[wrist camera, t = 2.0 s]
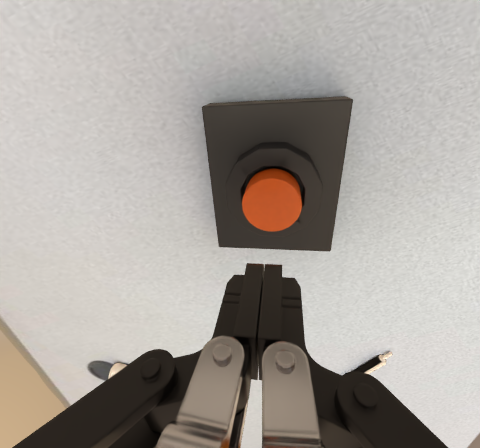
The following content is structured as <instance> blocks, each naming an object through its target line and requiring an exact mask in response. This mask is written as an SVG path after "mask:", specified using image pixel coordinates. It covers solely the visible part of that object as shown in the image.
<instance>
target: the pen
mask: <svg viewBox="0 0 480 448" xmlns="http://www.w3.org/2000/svg"><path fill="white" fill-rule="evenodd" d="M391 355H393V354H392V352H389V353H387V354H385V355H384V356H383V355H379V356H377V357H376V358H374V359H372V360H371V361H369V362H367V363H366V364H364V365H363V366H361V367H359V368H358V369H356V370H354V371H358V372H363V373H366V374H369V373H371V372H373V371H375V370H376V369H378V368H380V367H381V366H383V365H385V364H386V358H388V357H390V356H391Z"/></svg>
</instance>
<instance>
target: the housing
mask: <svg viewBox="0 0 480 448" xmlns="http://www.w3.org/2000/svg"><path fill="white" fill-rule="evenodd" d="M352 103H353V99H351V98H348V97H345V96H343V97H323V98H304V99H285V100H265V101H246V102H226V103H210V104H207V105H205V106H203V107H202V112H203V120H204V128H205V136H206V144H207V152H208V161H209V169H210V177H211V185H212V193H213V202H214V210H215V218H216V226H217V234H218V243H219V247H234V248H259V249H284V250H309V251H331V244H332V238H333V231H334V224H335V217H336V211H337V204H338V197H339V190H340V184H341V177H342V170H343V163H344V157H345V150H346V143H347V136H348V130H349V123H350V116H351V109H352ZM271 168H275V169H281V170H284V171H286V172H288V173H290V174H291V175H292V176H293V177H294V178H295V179H296V181H297V182H298V184H299V187H300V192H301V200H302V209H301V213H300V215H299V217H298V219H297V220H296V221H295V222H294V223H293V224H292V225H291V226H290V227H288V228H286V229H283V230H280V231H264V230H261V229H259V228H257V227H255V226H253V225H252V224H251V223H250V222H249V221H248V220H247V218H246V217H245V215H244V213H243V209H242V200H243V196H244V193H245V190H246V187H247V184H248V182H249V181H250V179H251V178H252V177H253V176H254V175H255V174H256V173H258V172H260V171H262V170H265V169H271Z"/></svg>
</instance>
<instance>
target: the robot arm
mask: <svg viewBox="0 0 480 448" xmlns="http://www.w3.org/2000/svg"><path fill="white" fill-rule="evenodd" d="M258 367H259V380H262V448H448V447H447V446H446V445H445V444H444V443H443V442H442V441H441V440H440V439H439V438H438V437H437V436H436V435H434V434H433V433H432V432H431V431H430V430H429V429H428V428H427V427H426V426H425V425H424V424H423V423H422V422H421V421H420V420H419V419H418V418H417V417H416V416H415V415H414V414H413V413H412V412H411V411H410V410H409V409H408V408H407V407H406V406H404V405H403V404H402V403H401V402H400V401H399V400H398V399H397V398H396V397H395V396H394V395H393V394H392V393H391V392H390V391H389V390H388V389H387V388H386V387H385V386H384V385H383V384H382V383H381V382H379V381H378V380H377V379H376V378H374V377H373V376H371V375H369V374H366V373H363V372H358V371H353V372H348V373H346V374H344V375H343V376H342V375H339V374H337V373H335V372H332V371H330V370H328V369H326V368H324V367H322V366H320V365H319V364H317V363H316V362H315V361H314V360H313V359H312V358H311V356H310V355H309V354H308V352H307V349H306V346H305V339H304V326H303V314H302V301H301V288H300V286H299V284H298V283H297V281H296V279H295V278H286V277H282V265H272V264H265V270H264V264H249V263H247V265H246V270H245V275H234V276H233V277H232V278H231V279H230V280H229V282H228V283H227V286H226V290H225V295H224V297H223V301H222V304H221V308H220V312H219V315H218V319H217V323H216V327H215V330H214V334H213V337H212V339H211V340H210V341H209V342H207V344H206V345H205V346H204V347H203V349H202V350H200V351H198V352H196V353H194V354H190V355H186V356H181V357H177V358H173V357H172V355H171V354H170V353H169V352H167V351H165V350H161V349H156V350H151V351H148V352H146V353H144V354H143V355H141V356H140V357H138V358H137V359H136V360H134V361H133V362H131V363H130V364H129V365H127V366H126V367H124V368H123V369H122V370H120V371H119V372H117V373H116V374H115V375H113V376H112V377H110V378H109V379H108V380H106V381H105V382H103V383H102V384H101V385H99V386H98V387H96V388H95V389H94V390H92V391H91V392H89V393H88V394H87V395H85V396H84V397H82V398H81V399H80V400H78V401H77V402H75V403H74V404H73V405H71V406H70V407H68V408H67V409H66V410H65V411H63V412H62V413H60V414H59V415H57V416H56V417H54V418H53V419H52V420H50V421H49V422H47V423H46V424H45V425H43V426H42V427H41V428H39V429H38V430H36V431H35V432H34V433H32V434H31V435H29V436H28V437H27V438H25V439H24V440H22V441H21V442H20V443H18V444H17V445H15V446H14V447H13V448H240V446H241V440H242V434H243V429H244V423H245V417H246V412H247V406H248V399H249V392H250V383H251V379H254V380H257V379H258Z"/></svg>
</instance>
